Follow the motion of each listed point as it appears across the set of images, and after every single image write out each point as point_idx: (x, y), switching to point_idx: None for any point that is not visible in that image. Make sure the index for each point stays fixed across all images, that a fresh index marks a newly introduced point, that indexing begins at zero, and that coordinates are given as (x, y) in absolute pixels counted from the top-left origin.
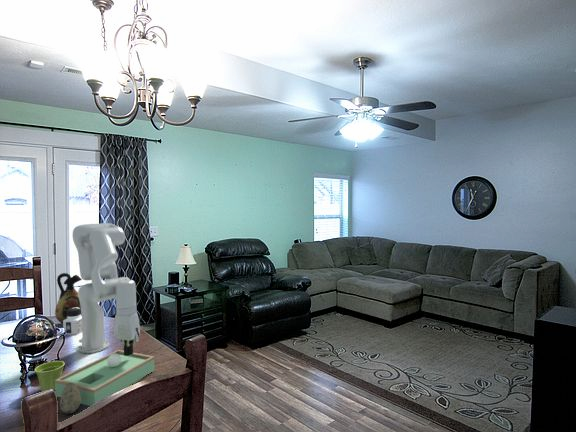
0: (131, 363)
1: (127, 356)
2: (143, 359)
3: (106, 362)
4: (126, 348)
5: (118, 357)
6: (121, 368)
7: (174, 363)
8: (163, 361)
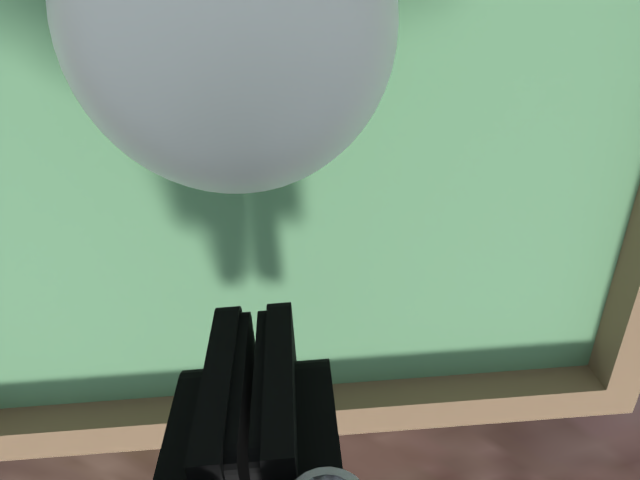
0: (86, 230)
1: (373, 351)
2: (66, 378)
3: (543, 79)
4: (193, 426)
5: (69, 76)
6: (41, 18)
7: (22, 474)
8: (149, 462)
